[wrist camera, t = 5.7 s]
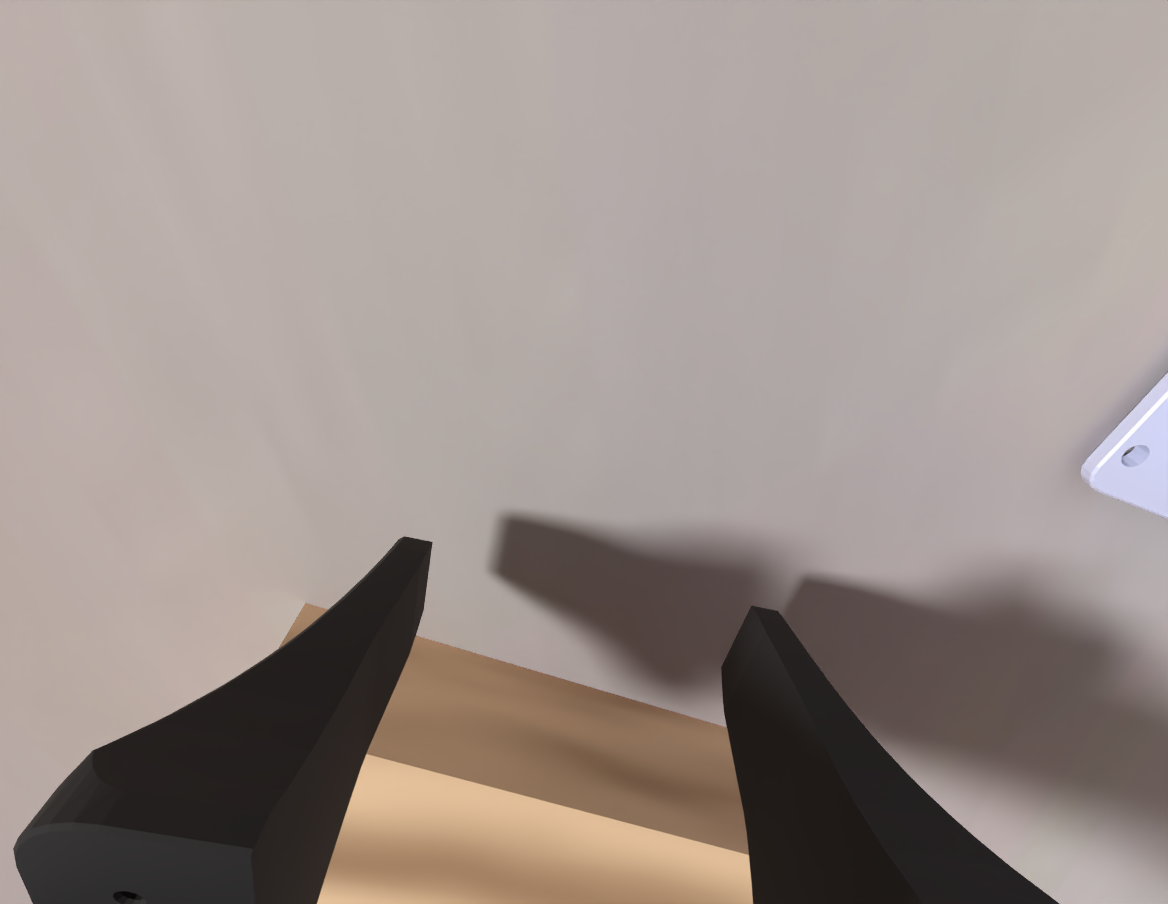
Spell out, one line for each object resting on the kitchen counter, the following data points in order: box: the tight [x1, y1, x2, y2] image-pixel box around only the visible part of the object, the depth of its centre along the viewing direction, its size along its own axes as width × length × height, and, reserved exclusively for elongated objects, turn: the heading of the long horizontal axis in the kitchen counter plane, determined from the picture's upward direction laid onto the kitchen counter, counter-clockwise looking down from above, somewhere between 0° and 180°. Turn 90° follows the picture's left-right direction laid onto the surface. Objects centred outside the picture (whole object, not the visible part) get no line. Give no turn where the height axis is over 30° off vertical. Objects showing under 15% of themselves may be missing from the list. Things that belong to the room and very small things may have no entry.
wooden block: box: [279, 603, 753, 904], centre depth 19 cm, size 8×14×4 cm, turn 69°
